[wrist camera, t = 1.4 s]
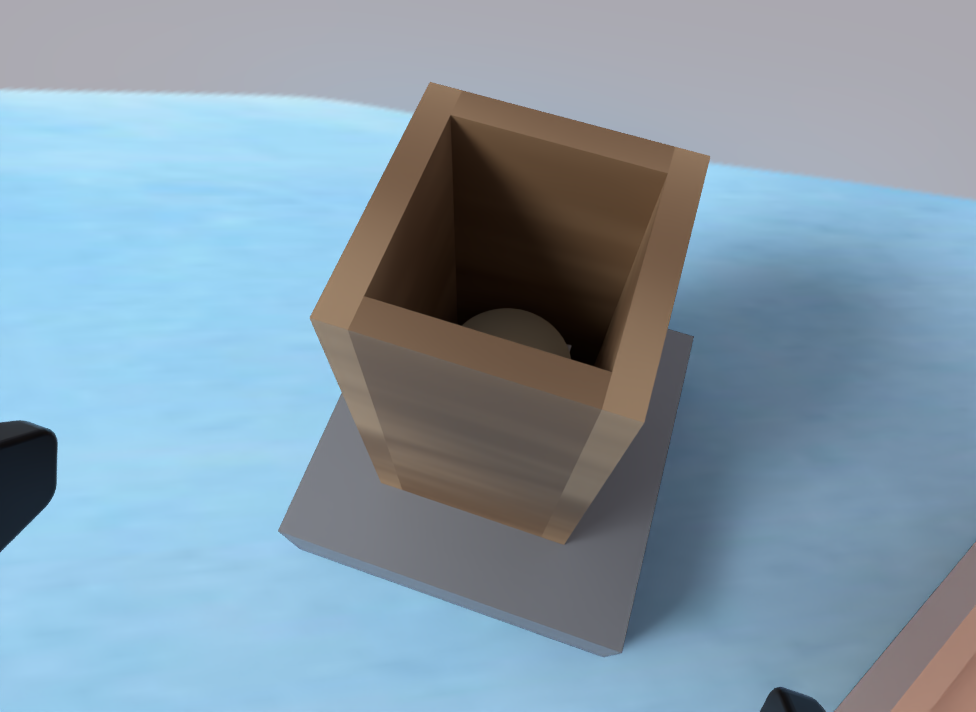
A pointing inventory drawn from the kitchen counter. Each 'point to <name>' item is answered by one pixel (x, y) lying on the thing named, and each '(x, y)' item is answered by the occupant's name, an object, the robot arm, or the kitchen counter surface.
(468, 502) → the walnut sleeve
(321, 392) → the kitchen counter surface
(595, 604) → the block
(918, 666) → the terracotta tray
